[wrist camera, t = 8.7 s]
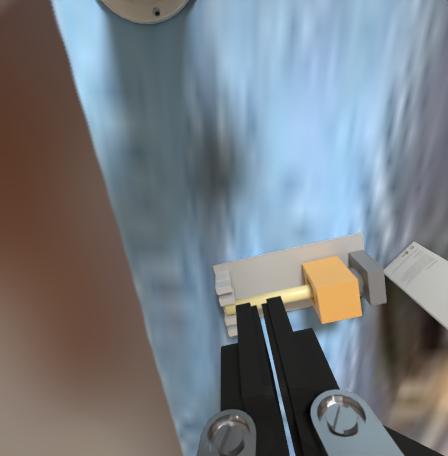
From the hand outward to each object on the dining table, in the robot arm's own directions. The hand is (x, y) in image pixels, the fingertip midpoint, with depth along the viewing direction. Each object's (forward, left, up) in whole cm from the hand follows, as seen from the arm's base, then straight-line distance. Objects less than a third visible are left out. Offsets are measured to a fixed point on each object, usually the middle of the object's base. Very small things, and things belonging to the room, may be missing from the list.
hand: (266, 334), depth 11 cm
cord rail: (+16, +5, -31) cm, 35 cm away
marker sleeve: (+16, +9, -31) cm, 36 cm away
